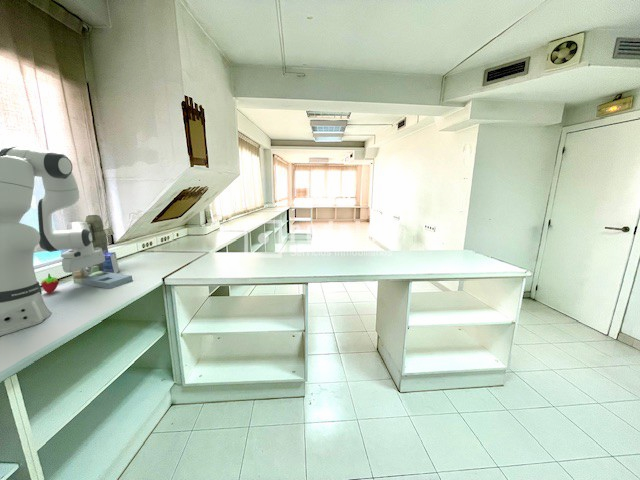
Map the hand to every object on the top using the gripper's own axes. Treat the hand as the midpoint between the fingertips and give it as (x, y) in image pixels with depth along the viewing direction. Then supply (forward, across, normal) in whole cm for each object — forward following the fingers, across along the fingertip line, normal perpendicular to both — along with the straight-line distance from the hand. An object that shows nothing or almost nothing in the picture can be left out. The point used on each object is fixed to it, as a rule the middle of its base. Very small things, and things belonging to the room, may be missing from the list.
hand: (88, 275), depth 139 cm
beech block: (+1, +1, -3) cm, 3 cm away
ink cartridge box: (+4, -14, -1) cm, 15 cm away
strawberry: (+4, +14, -5) cm, 16 cm away
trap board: (+4, -1, +7) cm, 8 cm away
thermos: (+4, -19, -11) cm, 22 cm away
